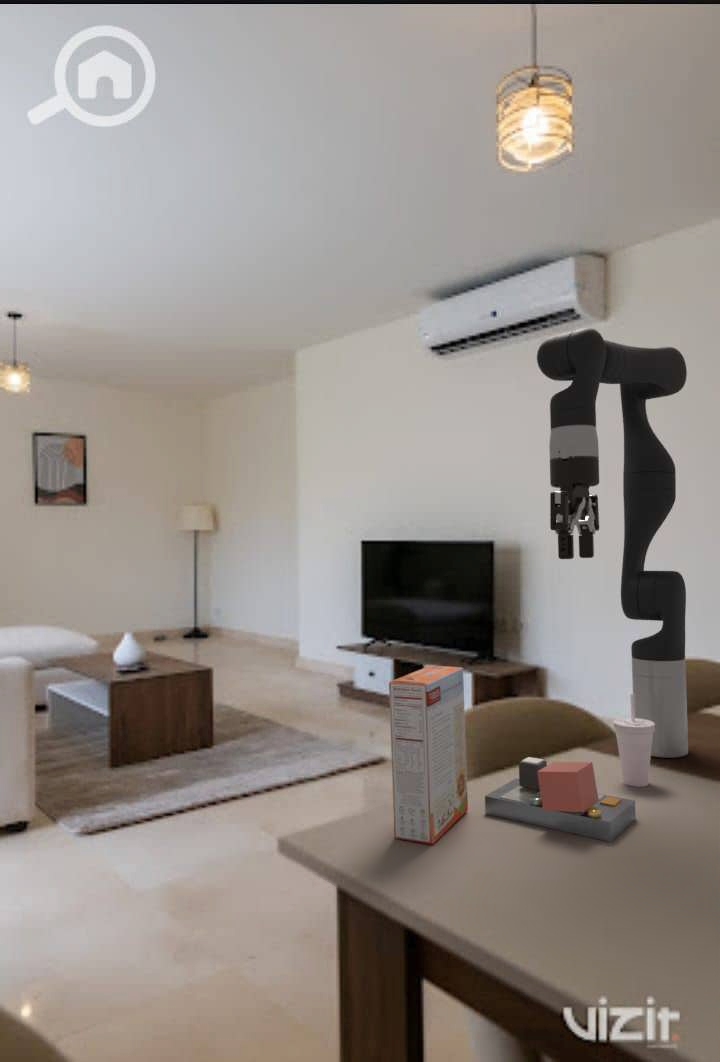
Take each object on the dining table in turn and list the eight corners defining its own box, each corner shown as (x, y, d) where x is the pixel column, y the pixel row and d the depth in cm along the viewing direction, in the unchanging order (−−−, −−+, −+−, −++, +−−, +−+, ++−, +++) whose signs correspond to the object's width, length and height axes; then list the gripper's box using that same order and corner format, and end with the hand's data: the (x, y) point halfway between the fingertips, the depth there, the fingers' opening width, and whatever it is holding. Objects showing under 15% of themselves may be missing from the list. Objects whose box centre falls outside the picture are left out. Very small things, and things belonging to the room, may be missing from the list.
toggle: (528, 780, 112) (527, 756, 112) (547, 784, 110) (546, 759, 110) (519, 786, 110) (518, 760, 110) (538, 789, 108) (537, 764, 108)
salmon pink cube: (560, 798, 105) (554, 761, 105) (598, 800, 101) (592, 762, 102) (543, 810, 100) (537, 771, 101) (583, 812, 97) (576, 772, 97)
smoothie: (650, 777, 122) (648, 691, 122) (662, 789, 115) (659, 699, 116) (610, 776, 122) (608, 691, 123) (619, 789, 116) (617, 699, 116)
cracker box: (430, 806, 110) (427, 664, 111) (469, 811, 107) (466, 666, 108) (389, 839, 98) (386, 679, 98) (432, 846, 95) (429, 682, 95)
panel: (516, 794, 114) (515, 773, 114) (635, 818, 103) (634, 794, 103) (485, 813, 106) (484, 790, 106) (610, 841, 95) (610, 815, 95)
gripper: (568, 462, 126) (571, 558, 126) (532, 455, 115) (535, 559, 115) (612, 458, 122) (615, 557, 121) (579, 450, 111) (582, 559, 110)
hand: (576, 558), depth 118 cm, fingers open, 8 cm apart
